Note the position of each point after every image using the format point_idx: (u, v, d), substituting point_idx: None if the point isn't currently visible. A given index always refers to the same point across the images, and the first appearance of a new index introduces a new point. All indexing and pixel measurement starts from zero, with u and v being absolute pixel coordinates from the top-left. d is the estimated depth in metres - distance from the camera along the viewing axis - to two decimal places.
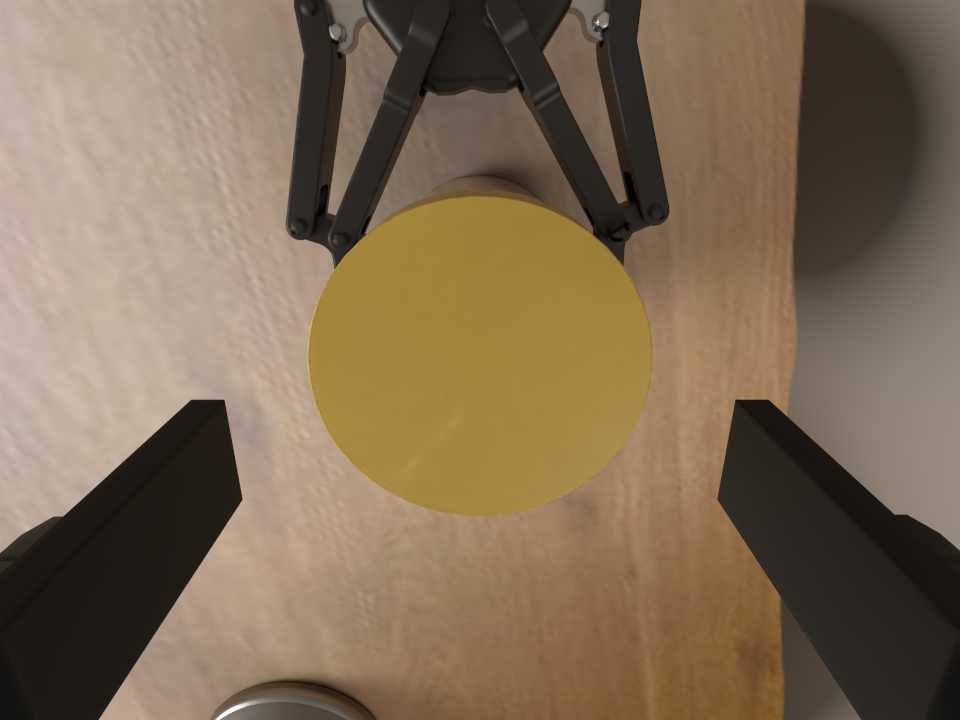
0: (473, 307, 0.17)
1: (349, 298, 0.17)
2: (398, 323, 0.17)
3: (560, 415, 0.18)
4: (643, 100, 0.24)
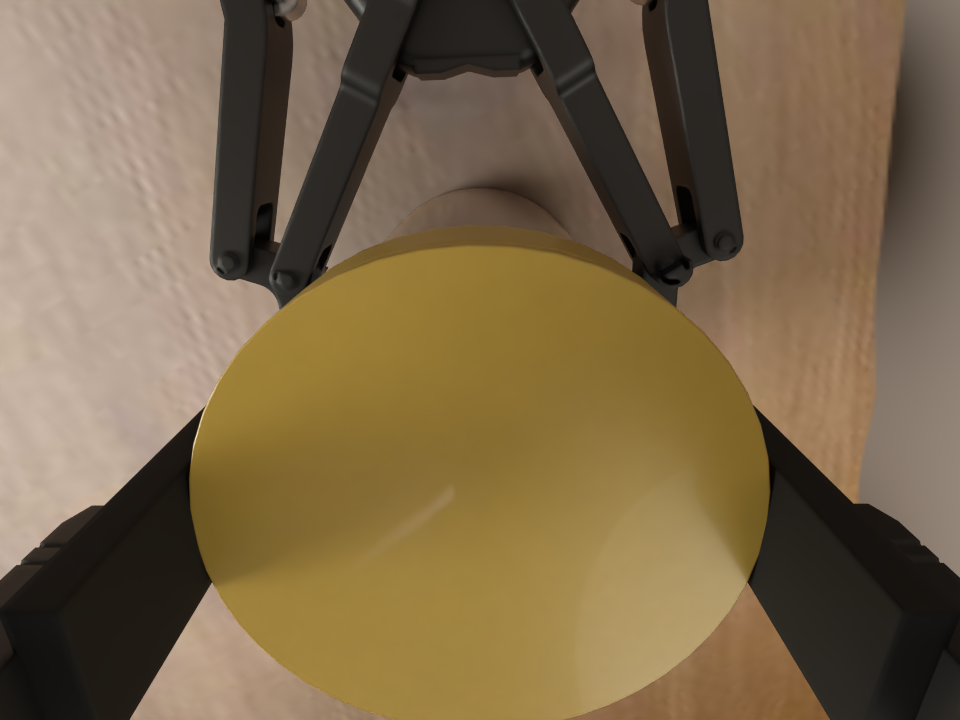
0: (469, 431, 0.10)
1: (254, 416, 0.10)
2: (340, 456, 0.10)
3: (611, 593, 0.11)
4: (713, 85, 0.16)
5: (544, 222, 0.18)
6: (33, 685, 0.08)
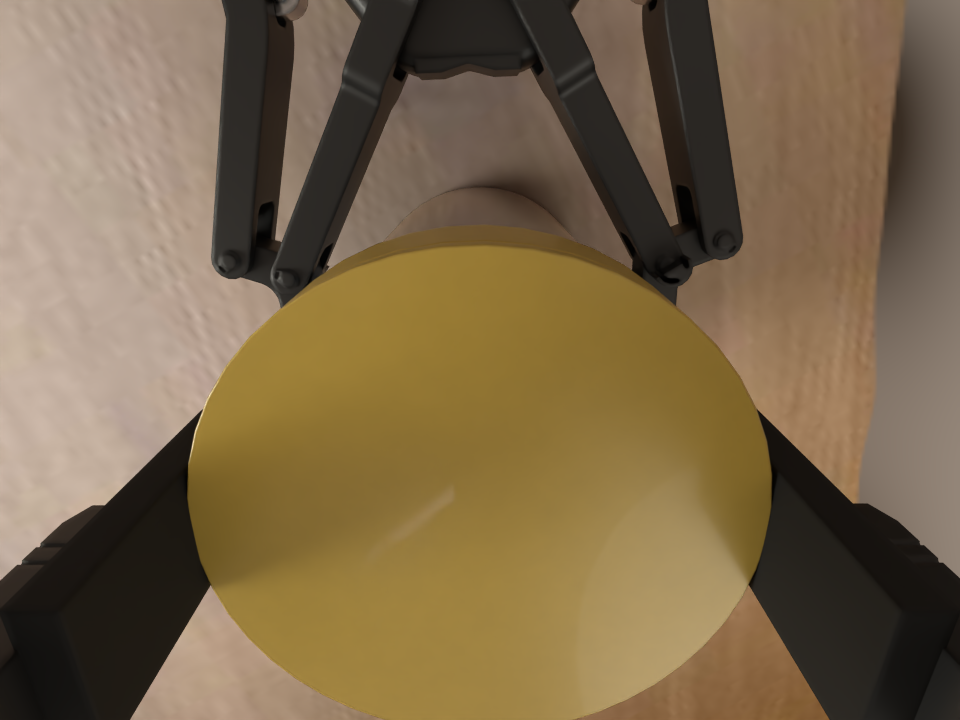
0: (385, 582, 0.11)
1: (459, 707, 0.12)
2: (461, 652, 0.12)
3: (487, 388, 0.10)
4: (713, 85, 0.17)
5: (544, 221, 0.18)
6: (34, 685, 0.08)
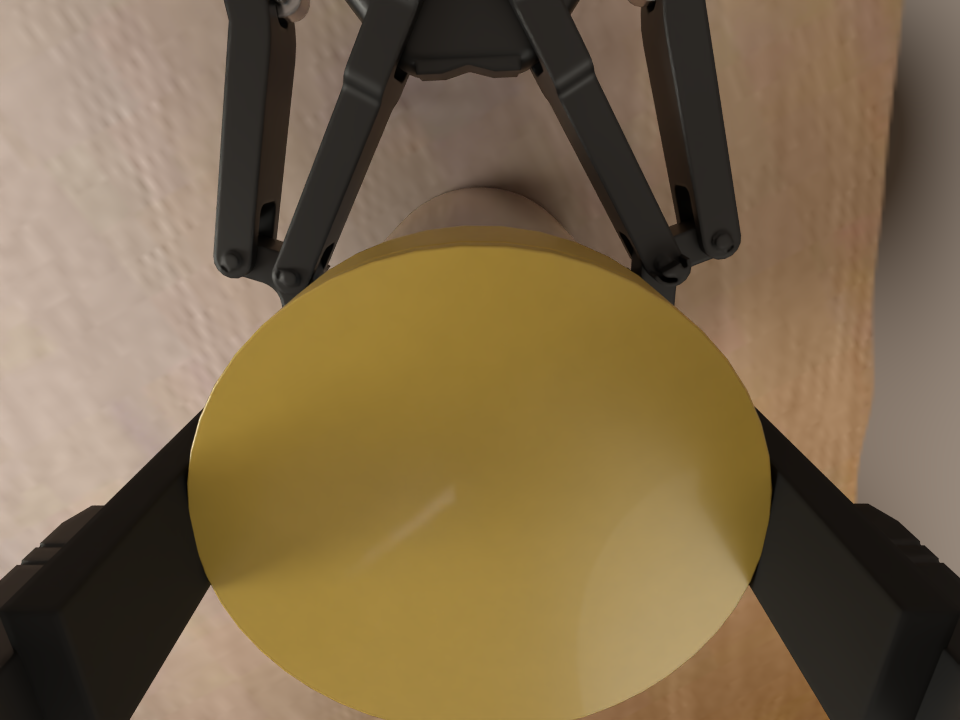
0: (574, 582, 0.11)
1: (721, 457, 0.10)
2: (634, 490, 0.10)
3: (339, 585, 0.11)
4: (711, 86, 0.17)
5: (544, 221, 0.18)
6: (33, 685, 0.08)
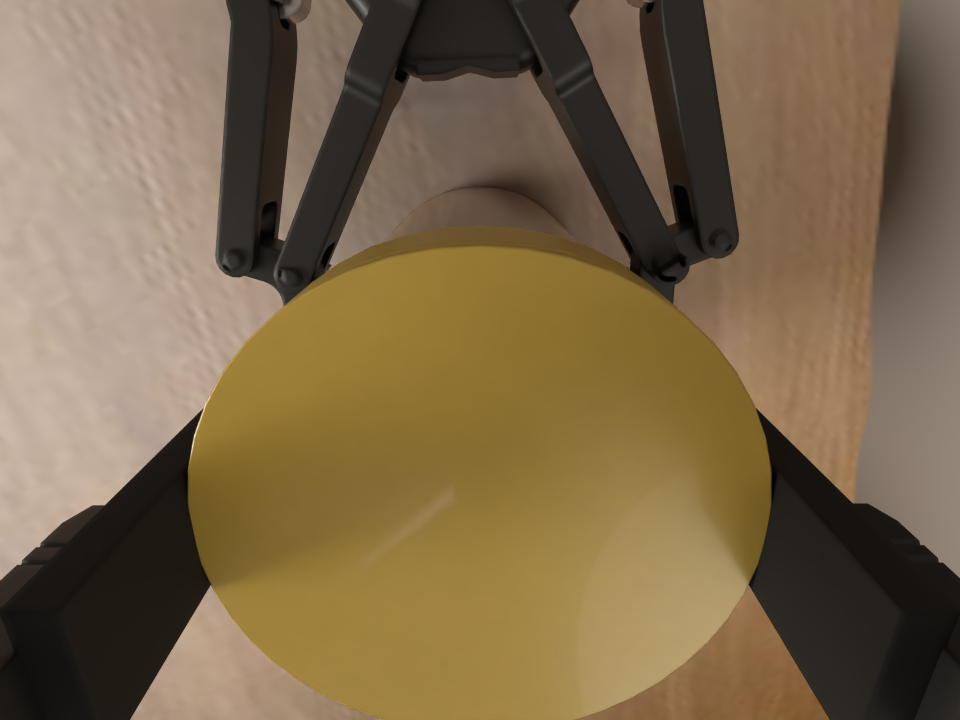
0: (490, 432, 0.10)
1: (275, 385, 0.09)
2: (355, 438, 0.10)
3: (595, 612, 0.11)
4: (709, 86, 0.17)
5: (543, 220, 0.18)
6: (34, 684, 0.08)
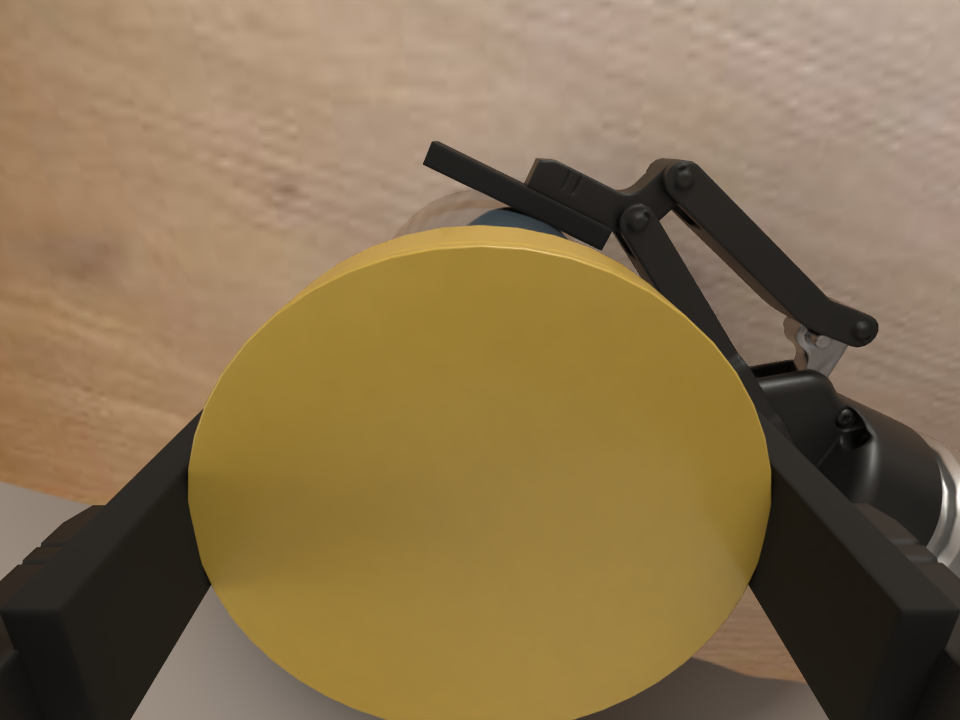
0: (489, 432, 0.10)
1: (275, 384, 0.10)
2: (355, 437, 0.10)
3: (595, 611, 0.11)
4: None
5: None
6: (35, 684, 0.08)
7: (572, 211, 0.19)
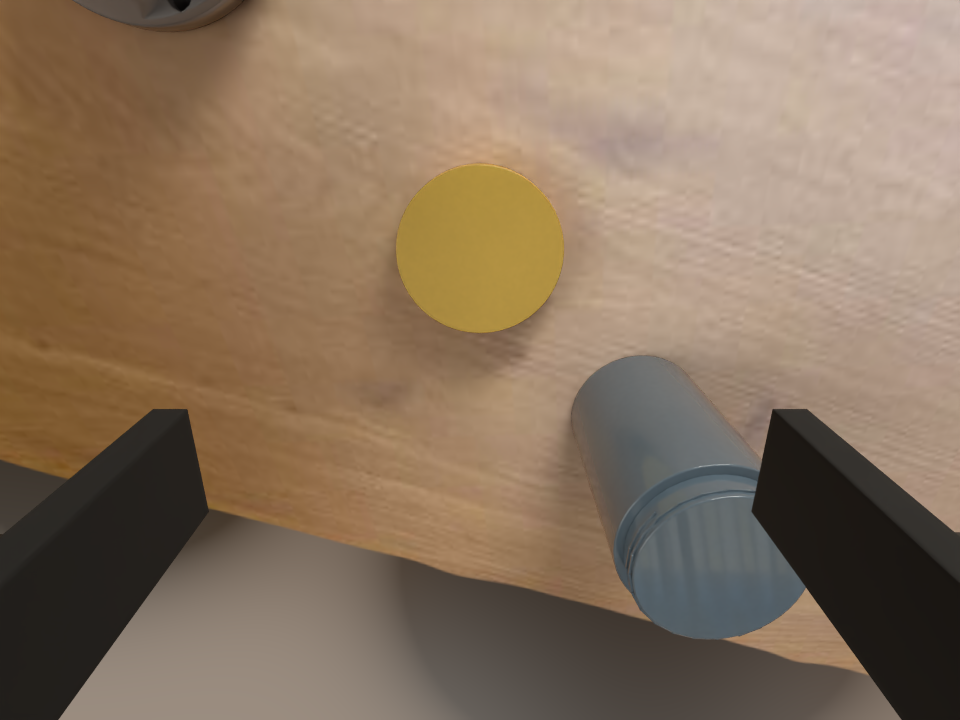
0: (482, 219, 0.36)
1: (425, 204, 0.35)
2: (445, 220, 0.36)
3: (515, 282, 0.37)
4: None
5: None
6: None
7: None
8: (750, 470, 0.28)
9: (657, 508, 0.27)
